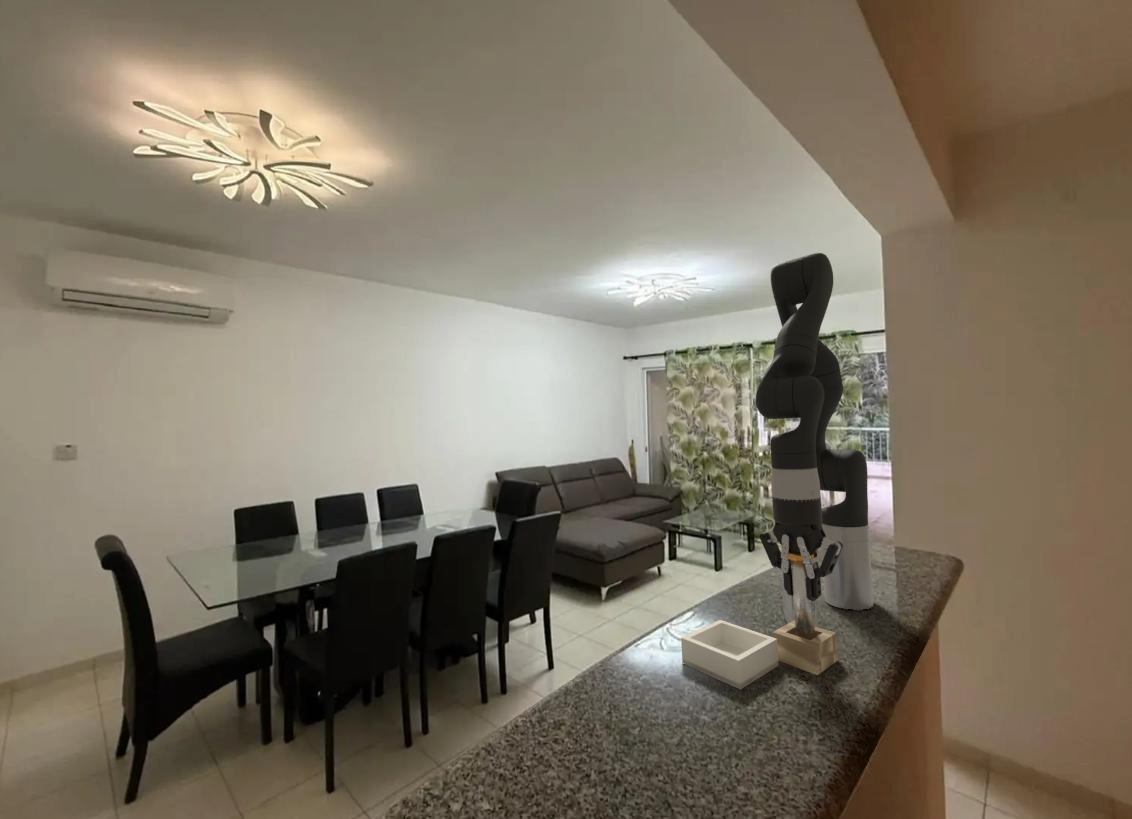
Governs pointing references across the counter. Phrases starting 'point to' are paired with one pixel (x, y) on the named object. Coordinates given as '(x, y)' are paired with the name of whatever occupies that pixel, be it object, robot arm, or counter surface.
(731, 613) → the counter surface
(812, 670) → the pin block
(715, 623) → the tray
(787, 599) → the medicine box
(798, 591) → the pin
